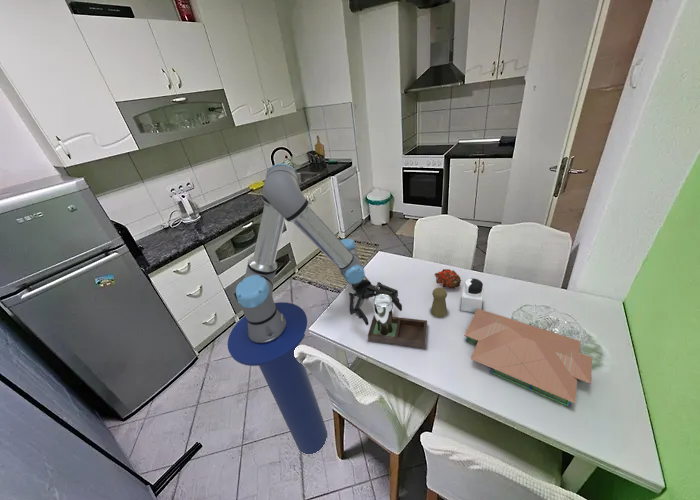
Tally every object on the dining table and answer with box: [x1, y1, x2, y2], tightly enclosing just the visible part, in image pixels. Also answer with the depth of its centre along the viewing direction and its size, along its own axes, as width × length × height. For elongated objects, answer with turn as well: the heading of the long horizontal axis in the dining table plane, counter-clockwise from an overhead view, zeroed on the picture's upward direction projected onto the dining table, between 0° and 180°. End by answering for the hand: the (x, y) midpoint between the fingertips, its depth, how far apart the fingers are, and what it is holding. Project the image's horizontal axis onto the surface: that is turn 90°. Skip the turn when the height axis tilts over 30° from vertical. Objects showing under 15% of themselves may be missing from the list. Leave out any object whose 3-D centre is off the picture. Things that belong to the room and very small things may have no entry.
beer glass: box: [372, 294, 394, 336], centre depth 99 cm, size 7×7×15 cm
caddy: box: [367, 314, 428, 350], centre depth 101 cm, size 20×10×3 cm, turn 73°
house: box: [464, 308, 593, 407], centre depth 85 cm, size 23×33×8 cm
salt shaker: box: [430, 286, 448, 319], centre depth 105 cm, size 6×6×11 cm
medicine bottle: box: [460, 277, 485, 314], centre depth 105 cm, size 7×7×12 cm
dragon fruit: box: [434, 268, 462, 289], centre depth 119 cm, size 8×8×12 cm
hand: (384, 315), depth 97 cm, fingers open, 13 cm apart
